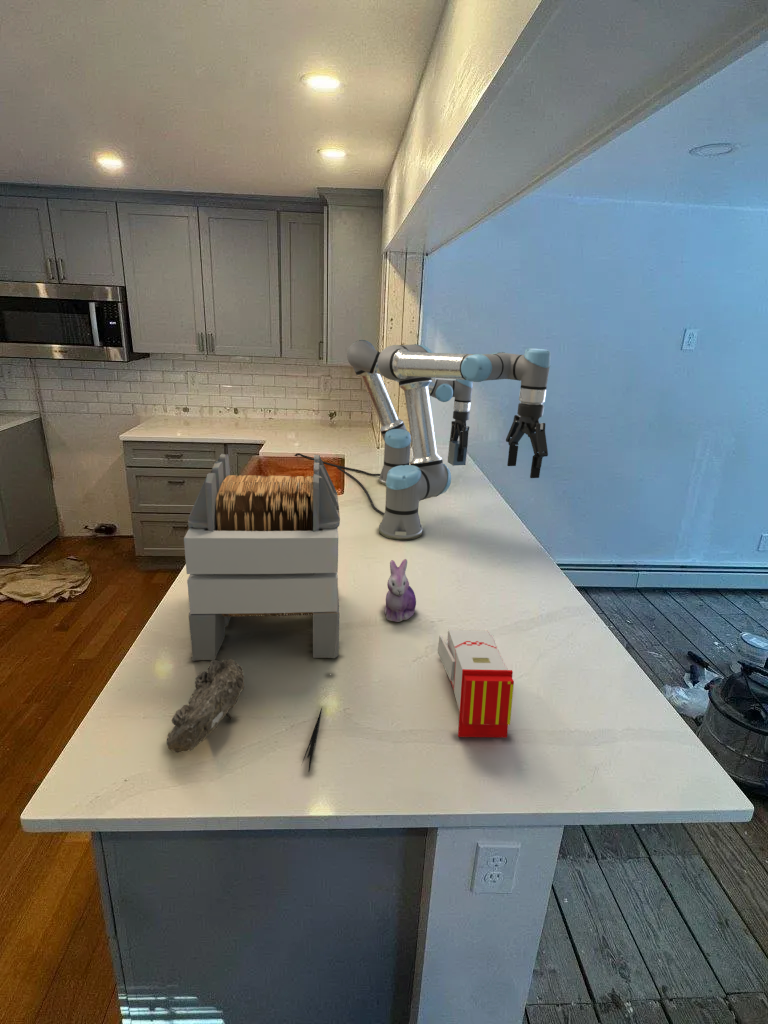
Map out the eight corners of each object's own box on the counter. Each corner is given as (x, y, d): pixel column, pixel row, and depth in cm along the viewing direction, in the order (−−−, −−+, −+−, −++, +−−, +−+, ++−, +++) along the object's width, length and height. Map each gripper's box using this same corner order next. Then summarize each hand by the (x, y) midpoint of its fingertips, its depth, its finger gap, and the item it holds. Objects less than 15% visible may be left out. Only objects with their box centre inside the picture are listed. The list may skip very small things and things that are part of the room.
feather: (331, 679, 122) (336, 673, 122) (307, 777, 96) (313, 769, 95) (324, 675, 122) (329, 669, 121) (298, 772, 95) (304, 764, 95)
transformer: (215, 589, 155) (206, 444, 141) (335, 588, 159) (337, 446, 145) (189, 663, 124) (173, 484, 110) (339, 659, 127) (342, 486, 113)
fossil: (192, 660, 117) (244, 628, 112) (224, 691, 120) (276, 661, 115) (142, 746, 98) (202, 712, 93) (182, 779, 101) (242, 748, 96)
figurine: (392, 627, 141) (395, 572, 136) (374, 608, 149) (376, 556, 144) (425, 619, 145) (429, 566, 140) (405, 601, 154) (408, 550, 149)
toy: (488, 613, 130) (523, 677, 101) (484, 667, 133) (517, 744, 104) (435, 612, 130) (455, 676, 101) (432, 666, 133) (451, 743, 103)
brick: (465, 465, 267) (467, 443, 264) (453, 465, 265) (455, 443, 262) (459, 461, 273) (461, 440, 269) (447, 462, 271) (449, 440, 267)
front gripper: (567, 410, 159) (556, 482, 166) (520, 396, 181) (512, 460, 188) (544, 410, 156) (533, 483, 164) (499, 396, 179) (492, 461, 186)
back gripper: (478, 414, 253) (473, 464, 261) (459, 407, 270) (454, 454, 278) (463, 414, 251) (458, 465, 259) (445, 407, 268) (441, 454, 275)
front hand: (522, 471), depth 176 cm, fingers open, 13 cm apart
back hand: (456, 459), depth 268 cm, fingers closed on brick, 6 cm apart
